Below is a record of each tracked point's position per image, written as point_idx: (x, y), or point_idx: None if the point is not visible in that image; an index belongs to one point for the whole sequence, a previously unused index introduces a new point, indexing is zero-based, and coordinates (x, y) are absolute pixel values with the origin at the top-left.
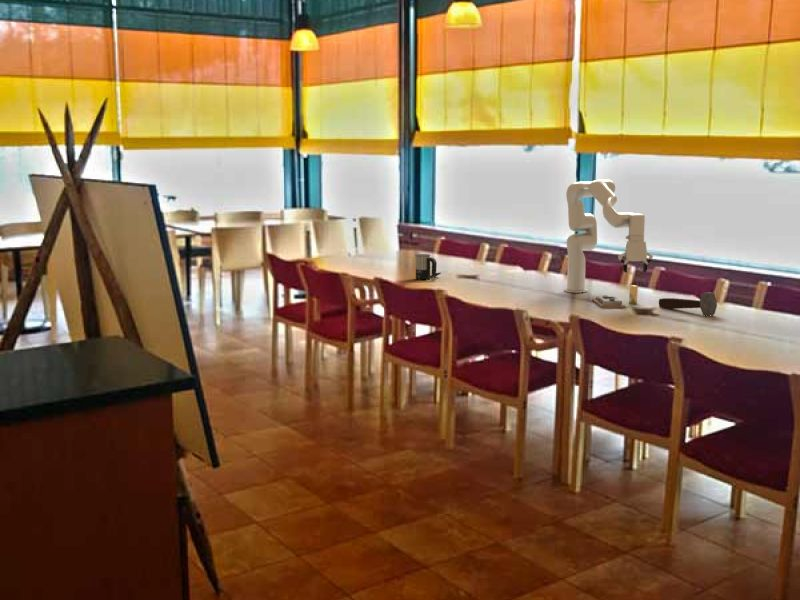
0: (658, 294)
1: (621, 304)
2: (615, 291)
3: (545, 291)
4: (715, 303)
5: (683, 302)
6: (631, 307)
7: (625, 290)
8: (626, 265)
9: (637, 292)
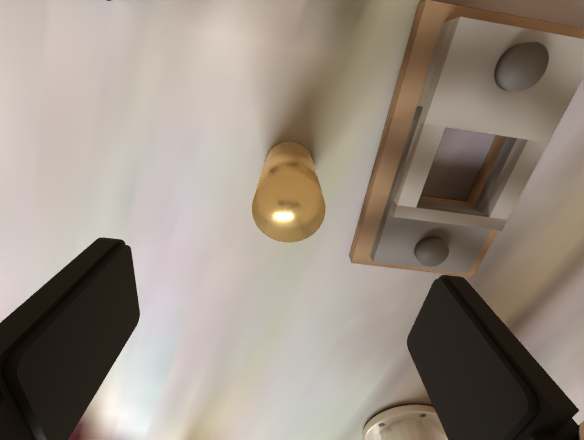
0: None
1: (448, 23)
2: (256, 412)
3: None
4: None
5: None
6: (364, 14)
7: (209, 421)
8: (547, 391)
9: (261, 174)
